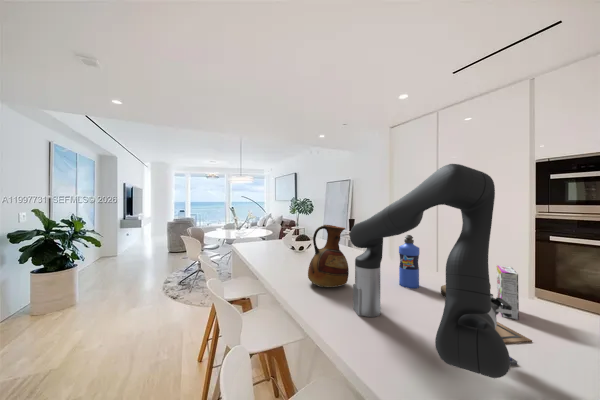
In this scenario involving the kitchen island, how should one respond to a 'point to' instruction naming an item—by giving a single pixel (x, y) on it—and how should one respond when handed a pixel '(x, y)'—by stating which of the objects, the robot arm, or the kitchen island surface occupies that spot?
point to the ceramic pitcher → (329, 260)
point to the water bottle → (409, 264)
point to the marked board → (510, 335)
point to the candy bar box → (508, 289)
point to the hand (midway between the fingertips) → (478, 293)
